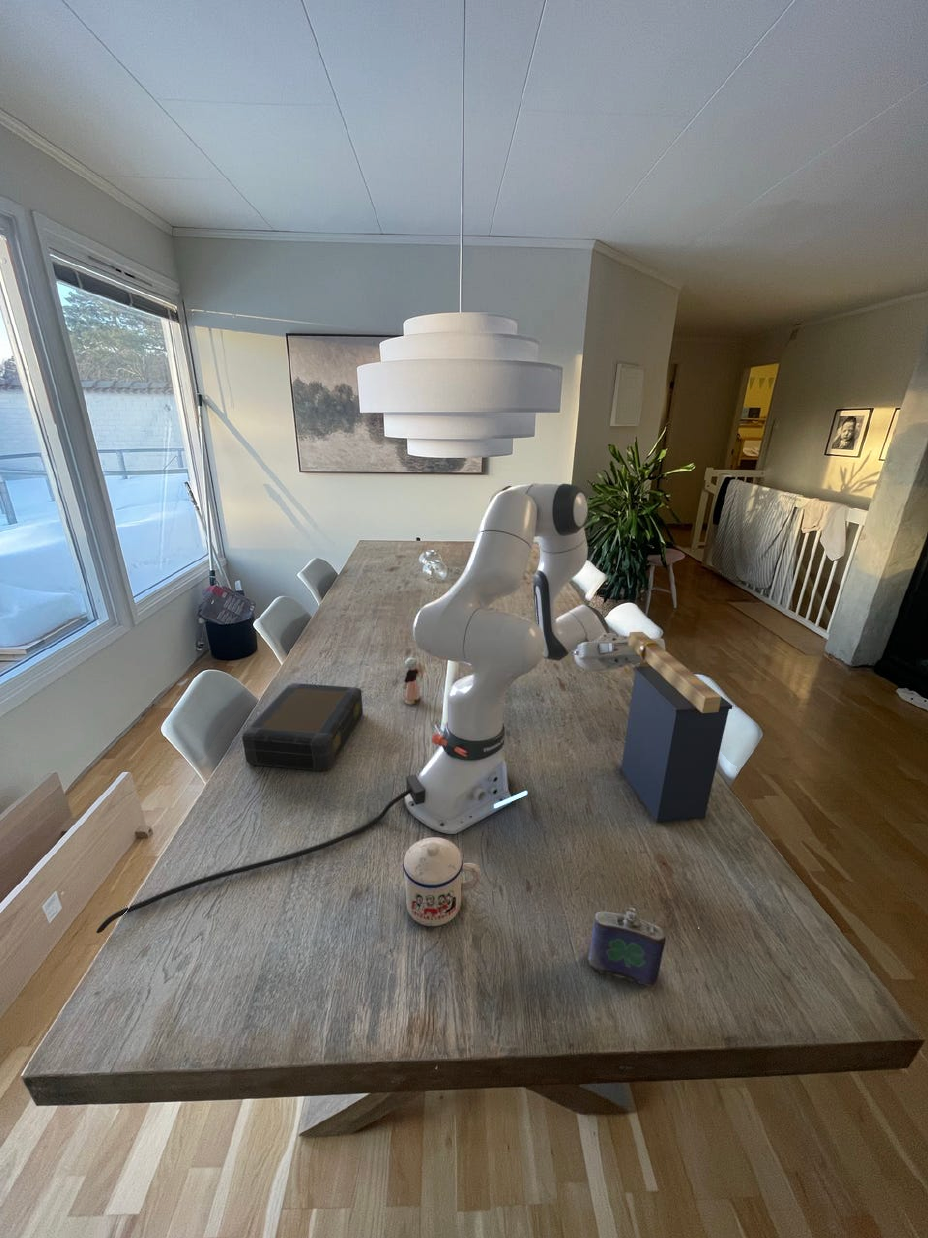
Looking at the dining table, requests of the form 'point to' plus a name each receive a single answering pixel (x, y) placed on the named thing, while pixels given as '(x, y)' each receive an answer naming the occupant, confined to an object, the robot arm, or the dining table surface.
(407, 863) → the teacup with lid
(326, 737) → the black hard case
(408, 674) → the grandmother figurine
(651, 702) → the stand
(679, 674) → the ring rod
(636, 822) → the dining table surface
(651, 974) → the flask
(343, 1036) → the dining table surface
